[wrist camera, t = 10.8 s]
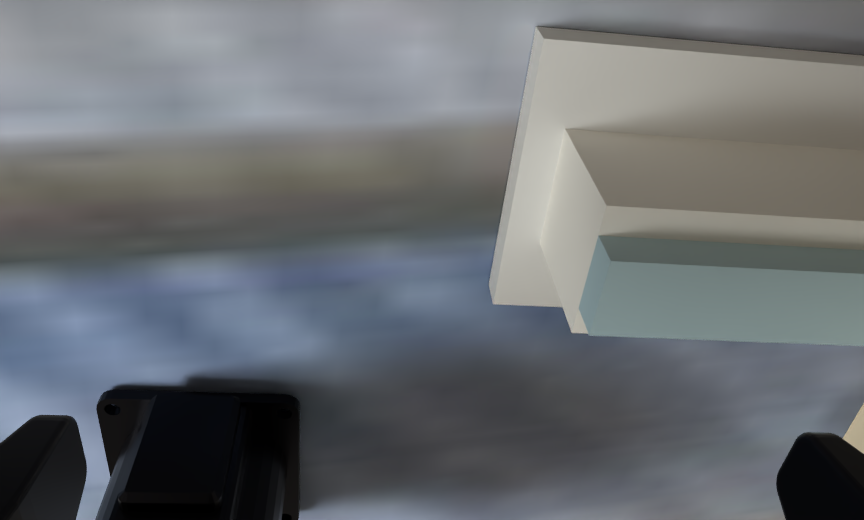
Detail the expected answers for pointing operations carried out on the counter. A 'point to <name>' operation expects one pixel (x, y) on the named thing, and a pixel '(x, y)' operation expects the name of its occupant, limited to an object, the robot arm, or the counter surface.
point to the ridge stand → (687, 190)
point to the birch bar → (856, 431)
